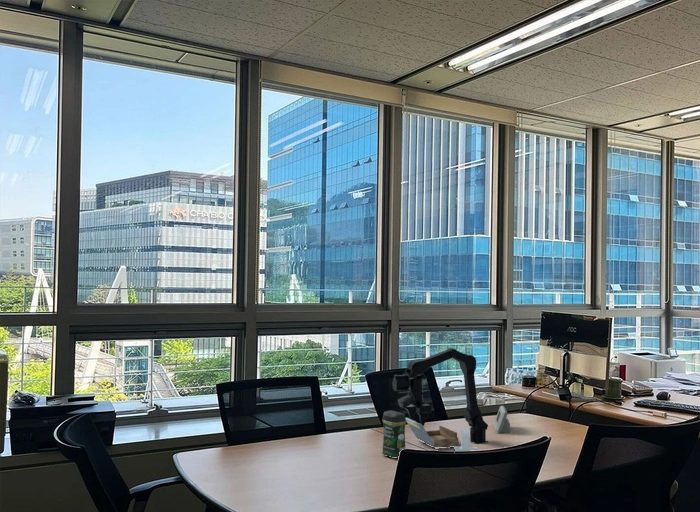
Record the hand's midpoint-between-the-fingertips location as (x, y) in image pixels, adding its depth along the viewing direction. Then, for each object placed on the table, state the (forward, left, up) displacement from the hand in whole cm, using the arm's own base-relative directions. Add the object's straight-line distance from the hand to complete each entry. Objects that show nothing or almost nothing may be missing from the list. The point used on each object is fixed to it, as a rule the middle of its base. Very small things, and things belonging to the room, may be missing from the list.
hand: (417, 424), depth 272 cm
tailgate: (-5, 0, -7) cm, 9 cm away
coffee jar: (+16, +11, -10) cm, 22 cm away
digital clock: (-52, -12, -10) cm, 55 cm away
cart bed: (-11, 0, -9) cm, 14 cm away
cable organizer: (-15, +17, -10) cm, 24 cm away
